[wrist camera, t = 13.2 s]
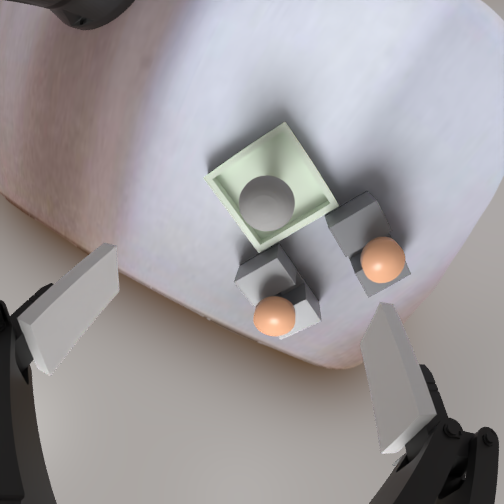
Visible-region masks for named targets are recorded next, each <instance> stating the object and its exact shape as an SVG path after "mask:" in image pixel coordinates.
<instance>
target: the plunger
mask: <svg viewBox="0 0 504 504" xmlns="http://www.w3.org/2000/svg"><path fill="white" fill-rule="evenodd" d="M254 324H255V326H256V328H257V329H258V330H259V331H260V332H262V333H264V334H266V335H269V336H281V335H284V334H287V333H288V332H290V331H291V330H292V329H293V327H294V325H295V308H294V306H293V304H292V303H291V302H290V301H288V300H287V299H285V298H283V297H282V294H281V292H280V293H278V294H276V295H274V296H271V297H267V298H264V299H262V300H261V301H260V302H259V303H258V304H257V306H256V308H255V313H254Z"/></svg>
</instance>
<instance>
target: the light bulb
mask: <svg viewBox="0 0 504 504" xmlns="http://www.w3.org/2000/svg"><path fill="white" fill-rule="evenodd" d="M294 207H295V199H294V195H293V192H292V190H291V188H290V187H289V186H288V184H286V183H285V182H284V181H283V180H281V179H279V178H277V177H274V176H268V175H265V176H259V177H256V178H254V179H252V180H251V181H249V182H248V183H247V184H246V185H245V187H244V188H243V190H242V191H241V194H240V197H239V210H240V213H241V215H242V217H243V219H244V220H245V221H246V222H247V223H248V224H249V225H250V226H251V227H253V228H255V229H257V230H260V231H273V230H277V229H279V228H281V227H283V226H284V225H285V224H286V223H288V221H289V220H290V219H291V217H292V215H293V212H294Z"/></svg>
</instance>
